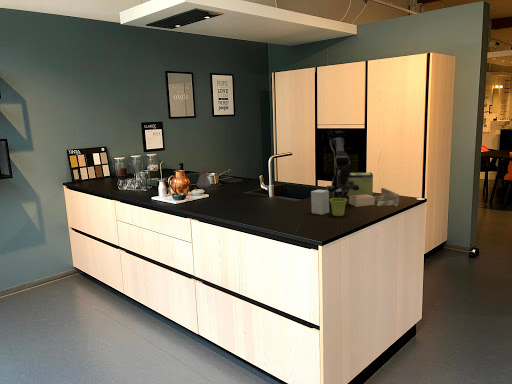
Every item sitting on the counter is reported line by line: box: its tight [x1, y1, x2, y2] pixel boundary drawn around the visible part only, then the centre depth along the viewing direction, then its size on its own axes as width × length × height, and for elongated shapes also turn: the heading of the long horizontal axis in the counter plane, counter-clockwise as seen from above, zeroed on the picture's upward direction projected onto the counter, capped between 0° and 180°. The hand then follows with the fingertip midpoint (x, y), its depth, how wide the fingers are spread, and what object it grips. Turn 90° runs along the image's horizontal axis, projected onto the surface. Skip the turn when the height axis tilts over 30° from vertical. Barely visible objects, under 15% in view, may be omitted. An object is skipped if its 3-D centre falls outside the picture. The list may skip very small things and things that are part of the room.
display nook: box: [374, 187, 400, 207], centre depth 253 cm, size 11×22×7 cm, turn 6°
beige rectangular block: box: [348, 194, 376, 208], centre depth 252 cm, size 12×9×5 cm
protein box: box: [347, 172, 374, 200], centre depth 271 cm, size 10×16×16 cm
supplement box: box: [310, 189, 330, 216], centre depth 235 cm, size 7×7×13 cm
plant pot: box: [329, 197, 348, 217], centre depth 228 cm, size 9×9×9 cm
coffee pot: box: [196, 170, 214, 190], centre depth 331 cm, size 21×12×15 cm, turn 38°
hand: (342, 202), depth 251 cm, fingers closed
